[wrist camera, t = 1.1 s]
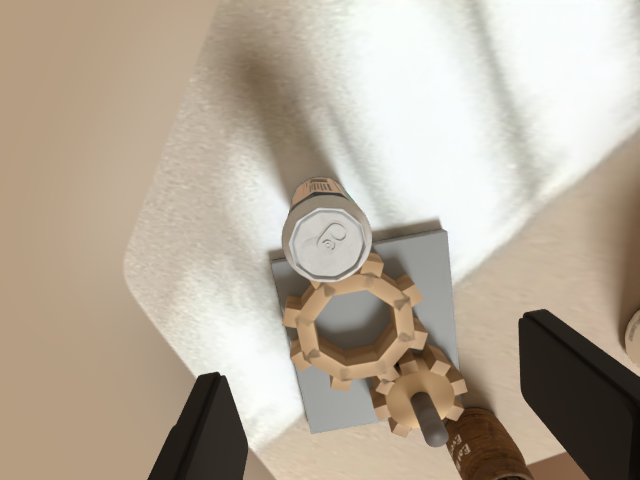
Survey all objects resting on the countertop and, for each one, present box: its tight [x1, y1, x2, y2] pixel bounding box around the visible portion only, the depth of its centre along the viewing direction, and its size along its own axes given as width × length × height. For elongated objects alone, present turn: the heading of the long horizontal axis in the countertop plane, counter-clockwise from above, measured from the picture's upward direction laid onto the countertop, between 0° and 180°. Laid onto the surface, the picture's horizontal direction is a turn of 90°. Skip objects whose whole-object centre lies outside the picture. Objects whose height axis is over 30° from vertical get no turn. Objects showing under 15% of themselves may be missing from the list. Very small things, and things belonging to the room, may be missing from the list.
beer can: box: [282, 177, 372, 282], centre depth 23 cm, size 5×5×12 cm
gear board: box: [271, 229, 462, 434], centre depth 32 cm, size 18×15×1 cm
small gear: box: [369, 344, 468, 447], centre depth 29 cm, size 8×8×6 cm
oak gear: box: [282, 252, 428, 392], centre depth 29 cm, size 12×12×2 cm
